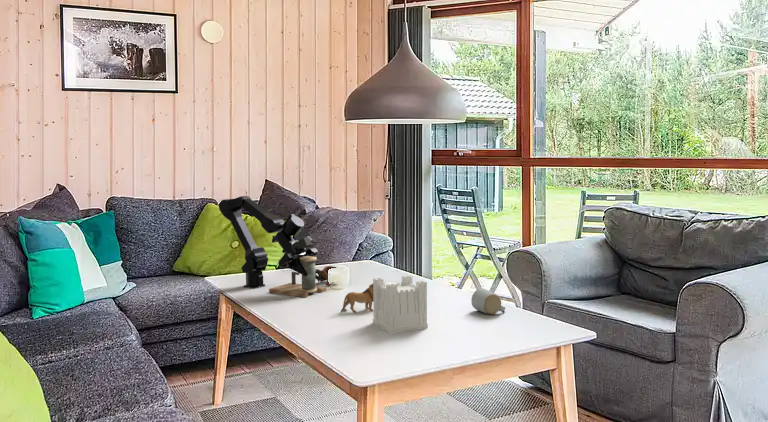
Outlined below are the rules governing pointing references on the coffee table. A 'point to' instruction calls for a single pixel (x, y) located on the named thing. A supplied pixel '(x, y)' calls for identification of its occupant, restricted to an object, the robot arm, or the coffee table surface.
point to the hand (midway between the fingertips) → (311, 274)
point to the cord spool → (308, 280)
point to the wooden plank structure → (293, 288)
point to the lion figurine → (359, 299)
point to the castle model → (400, 305)
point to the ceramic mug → (486, 301)
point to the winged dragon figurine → (323, 274)
